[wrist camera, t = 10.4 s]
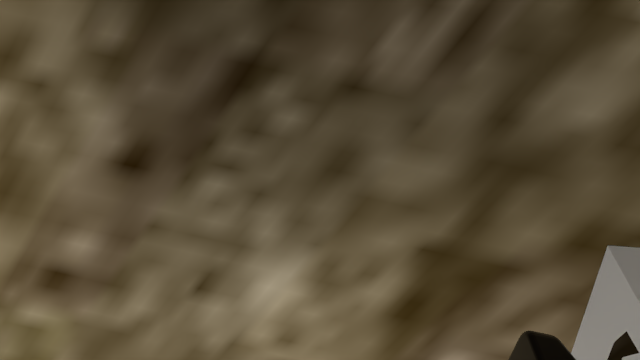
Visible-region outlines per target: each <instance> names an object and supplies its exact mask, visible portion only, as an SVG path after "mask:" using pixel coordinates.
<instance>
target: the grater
mask: <svg viewBox="0 0 640 360" xmlns="http://www.w3.org/2000/svg"><path fill="white" fill-rule="evenodd" d="M626 331H627V333H628V335H629V336H630V338H631V340H632V341H633V343H634V345H635V347H636V348H637V350H638V352H639V353H637V354H633V355H629V356H626V357H622V360H640V248H635V247H622V246H609V245H608V246H607V249H606V252H605V255H604V258H603V261H602V264H601V267H600V270H599V272H598V275H597V278H596V281H595V284H594V287H593V290H592V293H591V296H590V299H589V302H588V305H587V308H586V311H585V314H584V317H583V320H582V323H581V326H580V329H579V332H578V335H577V338H576V340H575V343H574V346H573V349H572V352H571V354H572V355H573V357H574V358H575V359H576V360H607V359H608V357H609V354H610V352H611V349H612V346H613V344H614V342H615V341H616V340H617V339H618V338H619V337H621V336H622V335H623V334H624V333H625V332H626Z"/></svg>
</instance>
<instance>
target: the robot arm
mask: <svg viewBox="0 0 640 360" xmlns="http://www.w3.org/2000/svg"><path fill="white" fill-rule="evenodd" d="M509 360H576V359H575V358H574V357H573V355H572V354H571V353H570V352H569V351H568V350H567V349H566V347H565V346H564V345H563V344H562V343H561V342H560V341H559V340H558V339H557V338H556V337H554V336H552V335H548V334H544V333H539V332H534V331H526V332H524V333H523V334H522V335H521V336H520V338H519V340H518V342H517V344H516V346H515V348H514V350H513V352H512V354H511V356H510V358H509Z"/></svg>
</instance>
